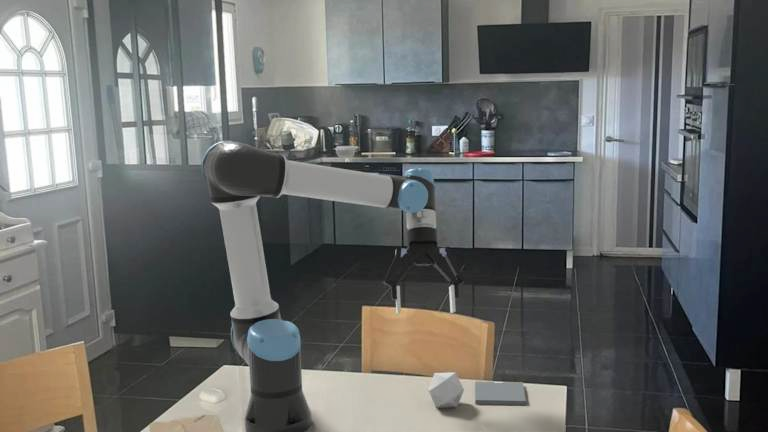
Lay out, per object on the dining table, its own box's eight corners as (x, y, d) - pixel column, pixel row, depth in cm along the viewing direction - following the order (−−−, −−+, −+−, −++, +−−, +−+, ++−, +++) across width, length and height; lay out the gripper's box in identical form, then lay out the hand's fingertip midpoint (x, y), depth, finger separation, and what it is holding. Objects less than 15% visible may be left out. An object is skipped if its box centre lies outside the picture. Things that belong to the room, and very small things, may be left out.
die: (453, 418, 182) (473, 381, 184) (421, 399, 183) (441, 362, 184) (450, 416, 190) (469, 381, 192) (419, 398, 191) (438, 363, 192)
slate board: (475, 403, 188) (475, 399, 188) (475, 385, 200) (475, 381, 200) (525, 404, 187) (525, 400, 186) (522, 385, 198) (522, 382, 198)
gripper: (374, 225, 193) (377, 311, 187) (473, 225, 196) (479, 309, 190) (371, 233, 200) (374, 315, 194) (466, 232, 203) (472, 313, 197)
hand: (425, 312), depth 192 cm, fingers open, 13 cm apart
